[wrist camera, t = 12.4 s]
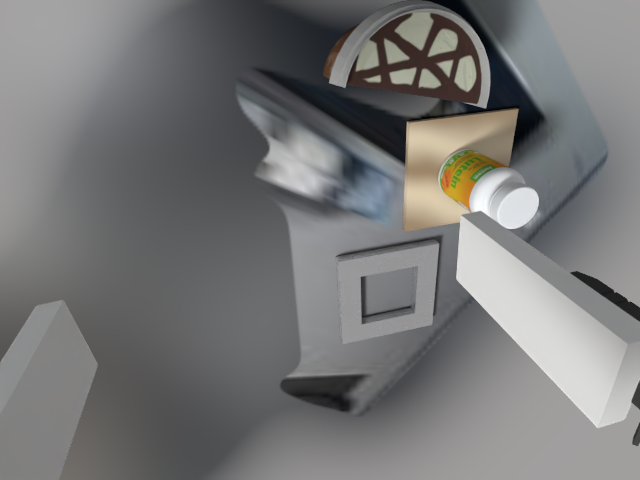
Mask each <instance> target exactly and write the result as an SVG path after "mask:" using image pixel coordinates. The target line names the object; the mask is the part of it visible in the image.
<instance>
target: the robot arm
mask: <svg viewBox="0 0 640 480" xmlns="http://www.w3.org/2000/svg"><path fill="white" fill-rule="evenodd" d="M456 279H457V280H458V281H459V283H460V284H461V285H462V286H463V287H464V288H465V289H466V290H467V291H468V292H469V293H470V294H471V295H472V296H473V297H474V298H475V299H476V300H477V301H478V303H479V304H480V305H481V306H482V307H483V308H484V309H485V310H486V311H487V312H488V313H489V314H490V315H491V316H492V317H493V318H494V319H495V320H496V321H497V322H498V324H499V325H500V326H501V327H502V328H503V329H504V330H505V331H506V332H507V333H508V334H509V335H510V336H511V337H512V338H513V339H514V340H515V341H516V343H517V344H518V345H519V346H520V347H521V348H522V349H523V350H524V351H525V352H526V353H527V354H528V355H529V356H530V357H531V358H532V359H533V360H534V361H535V362H536V363H537V364H538V366H539V367H540V368H541V369H542V370H543V371H544V372H545V373H546V374H547V375H548V376H549V377H550V378H551V379H552V380H553V381H554V382H555V383H556V384H557V386H558V387H559V388H560V389H561V390H562V391H563V392H564V393H565V394H566V395H567V396H568V397H569V398H570V399H571V400H572V401H573V403H575V405H576V406H577V407H578V408H579V409H580V410H581V411H582V412H583V413H584V414H585V415H586V416H587V417H588V418H589V419H590V420H591V421H592V422H593V424H594V425H595V426H596V427H597V428H600V427H603V426H606V425H609V424H612V423H616V422H619V421H622V420H625V418H626V416H627V413H628V411H629V408H630V406H631V404H632V403H633V404H634V405H635V406H637V407H638V408H639V409H640V308H639V307H638V306H637V305H635V304H634V303H632V302H628V301H627V299H626V298H625V297H623V296H622V295H620V294H619V293H617V292H616V293H614V290H613V289H611V288H609V287H608V286H607V285H605V284H604V283H602V282H601V281H599V280H598V279H595V278H593V277H590V276H588V275H585V274H583V273H580V272H578V271H576V272H571V273H569V272H568V271H566V270H565V269H563V268H562V267H561V266H559V265H558V264H556V263H555V262H553V261H552V260H550V259H549V258H548V257H546V256H545V255H543V254H542V253H541V252H539V251H538V250H536V249H535V248H533V247H532V246H531V245H529V244H528V243H526V242H525V241H523V240H522V239H521V238H519V237H518V236H516V235H515V234H513V233H512V232H511V231H509V230H508V229H506V228H505V227H503V226H502V225H501V224H499V223H498V222H496V221H495V220H493V219H492V218H491V217H489V216H488V215H486V214H485V213H483V212H482V211H477V212H472V213H468V214H463V215H461V220H460V234H459V248H458V262H457V277H456ZM97 366H98V364H97V362H96V360H95V358H94V356H93V355H92V353H91V351H90V349H89V347H88V345H87V343H86V341H85V339H84V338H83V336H82V334H81V332H80V330H79V328H78V326H77V324H76V323H75V321H74V319H73V317H72V315H71V313H70V312H69V310H68V308H67V306H66V304H65V302H64V300H60V301H56V302H51V303H46V304H41V305H37V306H36V307H35V308H34V310H33V312H32V313H31V315H30V316H29V318H28V319H27V321H26V323H25V324H24V326H23V328H22V329H21V331H20V332H19V334H18V335H17V337H16V339H15V340H14V342H13V343H12V345H11V347H10V348H9V350H8V351H7V353H6V354H5V356H4V358H3V359H2V361H1V363H0V480H59V478H60V474H61V472H62V469H63V466H64V463H65V460H66V457H67V454H68V451H69V448H70V445H71V442H72V439H73V436H74V434H75V430H76V427H77V425H78V421H79V419H80V416H81V413H82V410H83V407H84V404H85V401H86V398H87V395H88V392H89V389H90V386H91V383H92V380H93V378H94V375H95V372H96V369H97ZM639 443H640V423H639V426H638V428H637V430H636V433H635V435H634V437H633V445H636V446H638V445H639Z"/></svg>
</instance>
